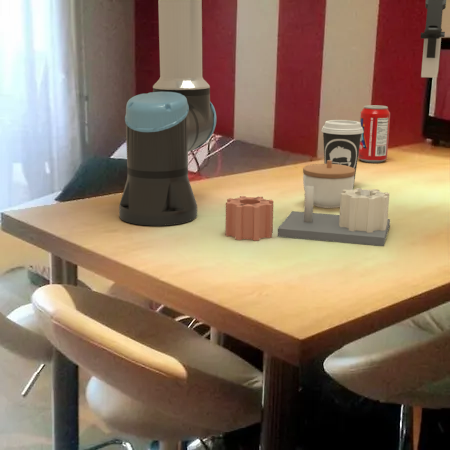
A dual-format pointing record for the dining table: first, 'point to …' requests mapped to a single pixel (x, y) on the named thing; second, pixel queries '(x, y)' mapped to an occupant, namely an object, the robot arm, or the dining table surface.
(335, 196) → the lidded jar
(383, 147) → the soda can
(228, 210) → the gear
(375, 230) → the gear board
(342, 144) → the coffee cup
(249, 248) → the dining table surface
